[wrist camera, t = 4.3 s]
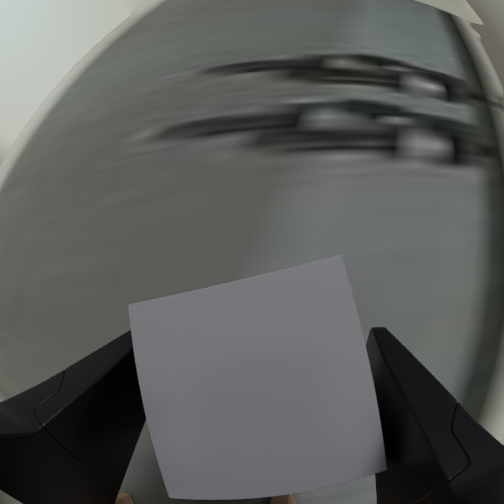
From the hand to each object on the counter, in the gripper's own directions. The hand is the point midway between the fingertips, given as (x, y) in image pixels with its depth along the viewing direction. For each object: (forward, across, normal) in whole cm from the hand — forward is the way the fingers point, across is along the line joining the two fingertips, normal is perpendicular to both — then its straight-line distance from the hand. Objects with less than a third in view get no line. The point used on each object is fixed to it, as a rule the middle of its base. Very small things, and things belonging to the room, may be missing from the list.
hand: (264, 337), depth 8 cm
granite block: (+3, 0, +5) cm, 6 cm away
